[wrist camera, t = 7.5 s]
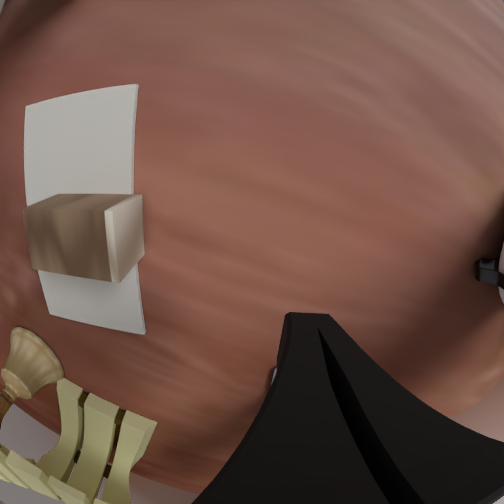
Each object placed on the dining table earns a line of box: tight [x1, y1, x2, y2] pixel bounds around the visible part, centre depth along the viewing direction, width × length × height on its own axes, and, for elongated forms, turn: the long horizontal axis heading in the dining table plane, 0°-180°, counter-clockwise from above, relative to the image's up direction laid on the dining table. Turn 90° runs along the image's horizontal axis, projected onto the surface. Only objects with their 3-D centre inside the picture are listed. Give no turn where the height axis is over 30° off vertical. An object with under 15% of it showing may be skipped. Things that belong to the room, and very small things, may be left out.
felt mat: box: [24, 84, 146, 335], centre depth 17 cm, size 18×10×1 cm, turn 175°
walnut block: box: [22, 194, 145, 283], centre depth 15 cm, size 4×4×7 cm
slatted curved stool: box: [0, 377, 157, 504], centre depth 20 cm, size 30×16×18 cm, turn 65°
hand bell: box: [0, 327, 64, 428], centre depth 16 cm, size 8×8×16 cm
